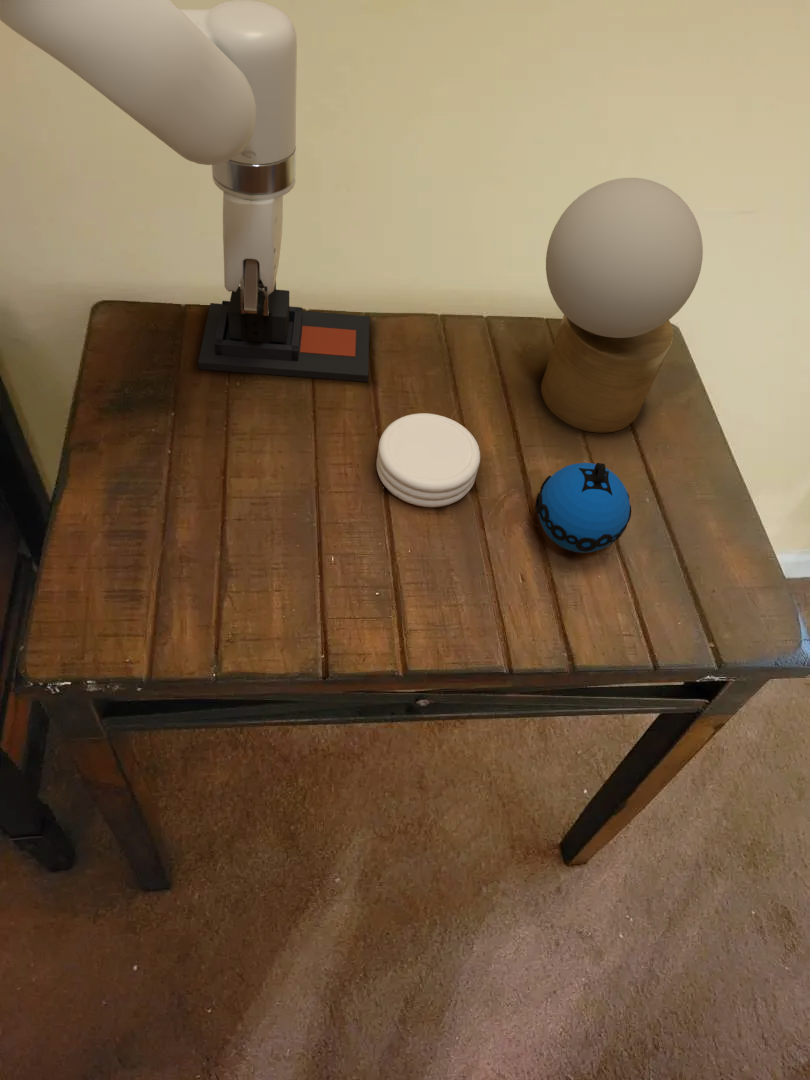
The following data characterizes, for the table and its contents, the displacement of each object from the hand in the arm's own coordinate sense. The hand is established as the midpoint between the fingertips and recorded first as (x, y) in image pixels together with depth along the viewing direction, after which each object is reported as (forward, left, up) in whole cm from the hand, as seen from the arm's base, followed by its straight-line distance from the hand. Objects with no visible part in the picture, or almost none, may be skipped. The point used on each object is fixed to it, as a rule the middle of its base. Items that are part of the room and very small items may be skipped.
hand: (259, 323), depth 89 cm
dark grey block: (0, 0, -1) cm, 1 cm away
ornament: (+32, -24, -3) cm, 40 cm away
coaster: (+18, -17, -3) cm, 25 cm away
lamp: (+35, -5, -3) cm, 36 cm away
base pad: (+3, 0, -3) cm, 4 cm away
